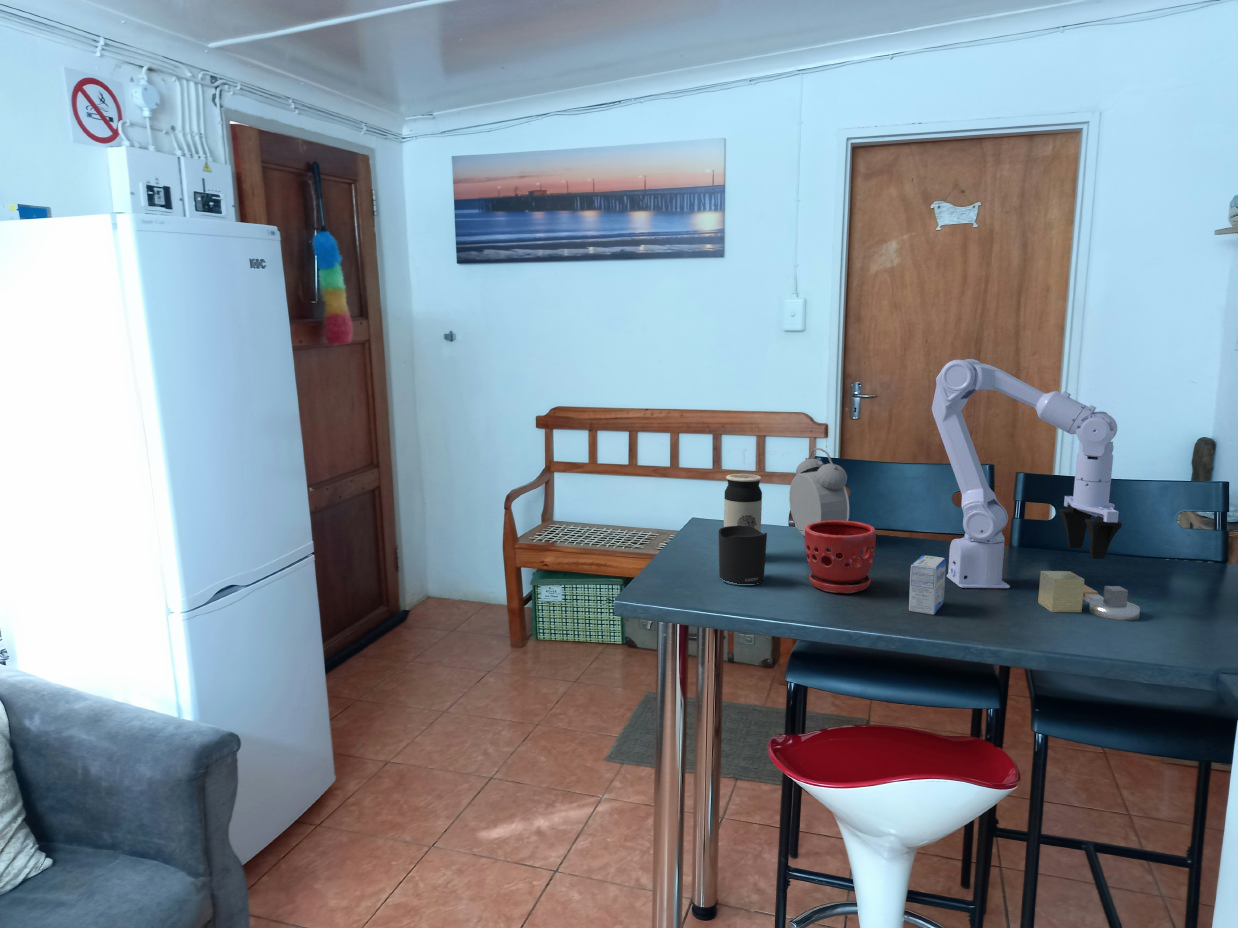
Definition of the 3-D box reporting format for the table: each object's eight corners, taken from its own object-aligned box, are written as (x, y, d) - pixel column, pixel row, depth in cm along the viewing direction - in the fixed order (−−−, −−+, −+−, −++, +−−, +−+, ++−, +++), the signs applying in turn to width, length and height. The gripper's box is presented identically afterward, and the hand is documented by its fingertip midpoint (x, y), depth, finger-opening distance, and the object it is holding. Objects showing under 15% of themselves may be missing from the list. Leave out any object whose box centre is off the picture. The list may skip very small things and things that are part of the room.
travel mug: (723, 552, 190) (725, 473, 188) (759, 554, 189) (762, 474, 187) (722, 562, 183) (724, 479, 180) (760, 563, 181) (763, 480, 179)
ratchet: (1148, 621, 146) (1151, 595, 145) (1103, 620, 146) (1105, 594, 146) (1093, 590, 164) (1095, 567, 163) (1053, 589, 164) (1055, 566, 163)
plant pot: (818, 574, 174) (820, 516, 172) (882, 585, 166) (885, 525, 164) (791, 589, 163) (793, 528, 161) (858, 601, 156) (861, 537, 154)
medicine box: (934, 616, 148) (937, 567, 147) (907, 611, 150) (910, 563, 149) (943, 604, 155) (946, 557, 153) (918, 600, 157) (921, 554, 156)
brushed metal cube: (1051, 611, 151) (1054, 578, 150) (1038, 602, 156) (1040, 570, 155) (1081, 612, 150) (1084, 579, 150) (1066, 603, 156) (1069, 571, 155)
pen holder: (713, 584, 166) (714, 534, 165) (722, 572, 175) (723, 524, 173) (762, 589, 163) (763, 538, 162) (768, 576, 172) (770, 527, 171)
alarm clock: (851, 546, 197) (856, 452, 193) (818, 549, 194) (822, 453, 191) (815, 531, 212) (819, 443, 209) (784, 533, 210) (787, 444, 207)
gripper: (1138, 486, 147) (1131, 563, 149) (1093, 473, 162) (1086, 543, 164) (1097, 486, 147) (1090, 562, 149) (1055, 472, 162) (1049, 542, 164)
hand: (1085, 552), depth 156 cm, fingers open, 7 cm apart
